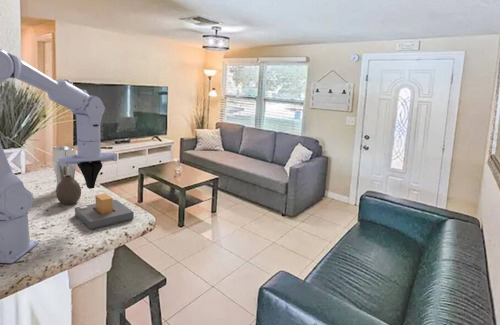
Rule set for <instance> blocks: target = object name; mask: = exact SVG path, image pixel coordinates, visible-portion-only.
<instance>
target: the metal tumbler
mask: <svg viewBox="0 0 500 325" xmlns="http://www.w3.org/2000/svg"><path fill="white" fill-rule="evenodd" d="M73 155H77V154H76V147H75V146H71V145H61V146H60V145H59V146H54V147H52V164H53V165H52V166H53V170H54V173H55V177H56V188H57V186H58V184H59V183H60V181H61V180H62V179H63V177H64V176H66V175H71V176H73V178H74V179H75V175H76V174H75V173H76V167H77V164H71V165H66V166H61V165H60V164H59V157H67V156H73ZM56 188H55V189H56Z"/></svg>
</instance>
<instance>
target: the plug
mask: <svg viewBox="0 0 500 325" xmlns="http://www.w3.org/2000/svg"><path fill="white" fill-rule="evenodd" d="M112 200H113V197H112V196H111V195H109V194H108V193H102V194H96V195H95V203H96V212H97V213H99V214H100V215H102V214H107V213H111V212H113V202H112Z"/></svg>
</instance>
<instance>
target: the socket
mask: <svg viewBox="0 0 500 325" xmlns="http://www.w3.org/2000/svg"><path fill="white" fill-rule="evenodd" d="M112 202H113V212H111V213H107V214H102V215H100V214H99V213H97V212H96V202H95V203H92V204H87V205H86V204H85V205H80V206H75V207H74V216H76V218H77V219H79V221H80V222H82V224H84V226H86V228H88V229H89V231H93V230H96V229H100V228H105V227H109V226H112V225H116V224H122V223H126V222H129V220H130V221H133V220H132V219H134V214H135V212H134V211H133V210H131V209H130V208H129V207H127V206H126V205H124V204H123V203H122V202H121V201H119V200H117V199H112ZM125 221H126V222H125ZM121 222H122V223H121Z"/></svg>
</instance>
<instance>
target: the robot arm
mask: <svg viewBox="0 0 500 325" xmlns="http://www.w3.org/2000/svg"><path fill="white" fill-rule="evenodd" d="M8 79H16V80H17V81H18V80H19V81H21V82H23V83H25V84H27V85H30V86H32V87H34V88H36V89H39V90H41V91H43V92H45V93H47V96H48V98H49V100H50V101H51V102H54V103H56V104H58V105H60V106H62V107H64V108H67V109H68V110H70V111H71V113H72V114H73V115H74V116H75V118H76V121H75V122H76V123H75V124H76V143H77V144H76V145H77V154H76V155H73V156H67V157H59V164H60V165H61V166H66V165H71V164H76V166H77V167H78V168H79V170H80V172H81V174H82V176H83V179H84V181H85V185H86V188H88V189H89V190H90V189H92V190H93V189H95V186H96V181H97V179H98V176H99V174H100V171H101V169H102V168H103V162H109V161H116V162H117V161H118V154H117V153H115V152H105V153H104V152H101V151H102V150H101V149H102V148H101V146H102V145H101V124H102V123H101V122H102V119H103V115H104V113H105V111H106V106H104V103H103V101H102V100H101V98H100V97H98V96H96V95H90V94H89V93H88V91H87V90H86V89H81V88H79V87H78V86H76V85H74V84H73V81H72V80H70V79H67V78H66V79H63V78H62V79H61V78H59V79H56V80H54V79H53V78H52V77H49V76H48V75H46V74H45V73H43V72H42V71H40V70H38V69H37V68H35V67H34V66H31V65H30V64H28V62H25V61H23V60H22V59H20V58H19V57H18V56H17V55H15V54H12V53H10V52H6V50H4V49H2V48H0V85H2V83H4V82H5V81H7V80H8ZM33 205H34V196H33V193H32V192H31V191H30V190H29V189H27V188H26V187H25V185H24V183H23V180H21V179H20V178H19V177H18V176H17V174H15V173H14V172H13V170H12V168H11V166H10V162H9V161H8V158H7V156H6V153H5V150H4V148H3V145H2V142H0V263H1V264H13V263H15V262H16V261H17V260H18V259H20V258H22V256H24V255H25V254H26V253H28V252H29V251H31V250H32V249H33V248H34V247H35V246H37V245H38V244H40V241H39V240H33V239H30V238H31V237H30V228H29V212H30V210H31V209H32V207H33Z"/></svg>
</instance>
